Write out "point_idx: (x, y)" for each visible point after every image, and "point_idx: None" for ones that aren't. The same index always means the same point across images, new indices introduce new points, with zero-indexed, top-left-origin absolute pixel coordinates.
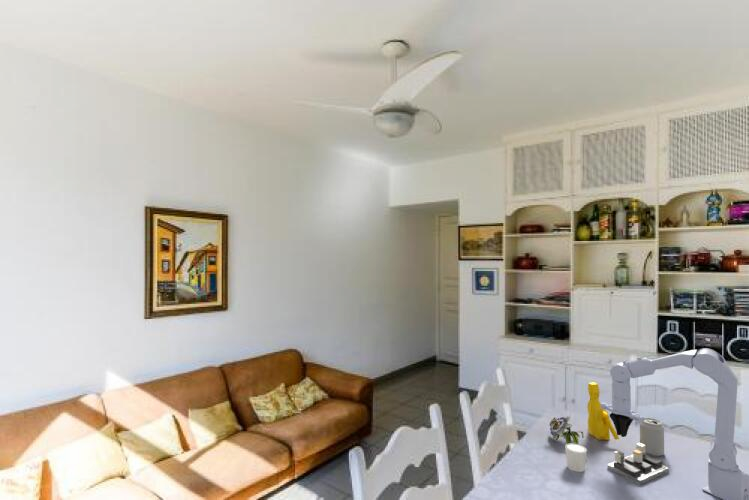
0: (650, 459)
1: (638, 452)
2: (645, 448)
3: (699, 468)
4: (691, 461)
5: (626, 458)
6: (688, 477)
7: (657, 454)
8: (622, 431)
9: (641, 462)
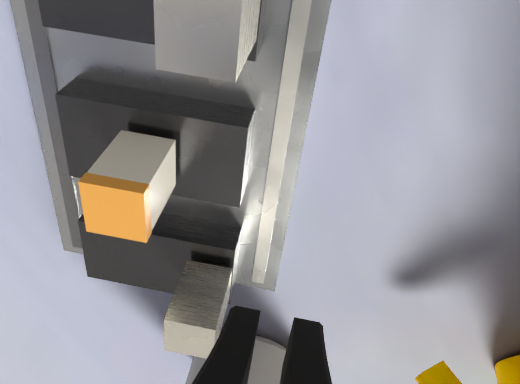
0: (132, 250)
1: (97, 200)
2: (255, 361)
3: (54, 345)
4: (109, 377)
5: (236, 139)
6: (6, 247)
7: None
8: (204, 376)
9: None
